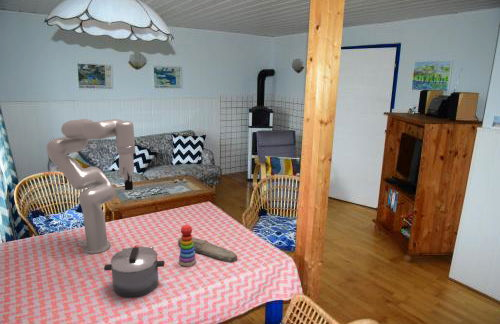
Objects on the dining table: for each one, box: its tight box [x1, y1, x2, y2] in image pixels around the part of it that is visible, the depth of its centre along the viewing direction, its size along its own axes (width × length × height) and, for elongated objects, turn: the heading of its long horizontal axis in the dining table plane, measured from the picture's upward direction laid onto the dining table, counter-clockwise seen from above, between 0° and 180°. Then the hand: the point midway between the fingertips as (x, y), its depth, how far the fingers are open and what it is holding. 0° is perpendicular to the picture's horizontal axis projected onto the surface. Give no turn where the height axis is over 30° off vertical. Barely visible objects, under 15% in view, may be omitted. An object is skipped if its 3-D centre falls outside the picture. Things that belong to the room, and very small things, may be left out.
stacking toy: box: [178, 224, 197, 267], centre depth 163 cm, size 8×8×19 cm
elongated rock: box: [177, 237, 238, 263], centre depth 175 cm, size 35×5×10 cm
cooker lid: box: [110, 244, 158, 273], centre depth 144 cm, size 18×18×4 cm
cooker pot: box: [103, 246, 165, 299], centre depth 147 cm, size 24×19×12 cm
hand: (129, 189), depth 158 cm, fingers closed
